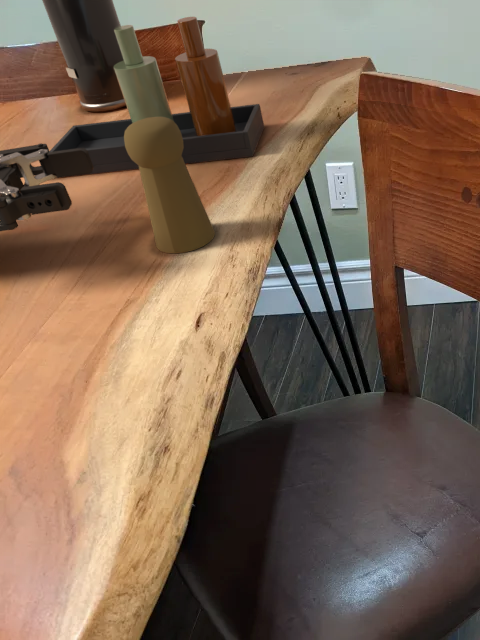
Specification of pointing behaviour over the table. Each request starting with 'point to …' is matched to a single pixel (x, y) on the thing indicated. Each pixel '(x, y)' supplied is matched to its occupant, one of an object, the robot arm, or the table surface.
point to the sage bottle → (139, 79)
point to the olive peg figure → (168, 186)
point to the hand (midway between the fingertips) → (79, 176)
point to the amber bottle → (203, 83)
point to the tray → (112, 154)
